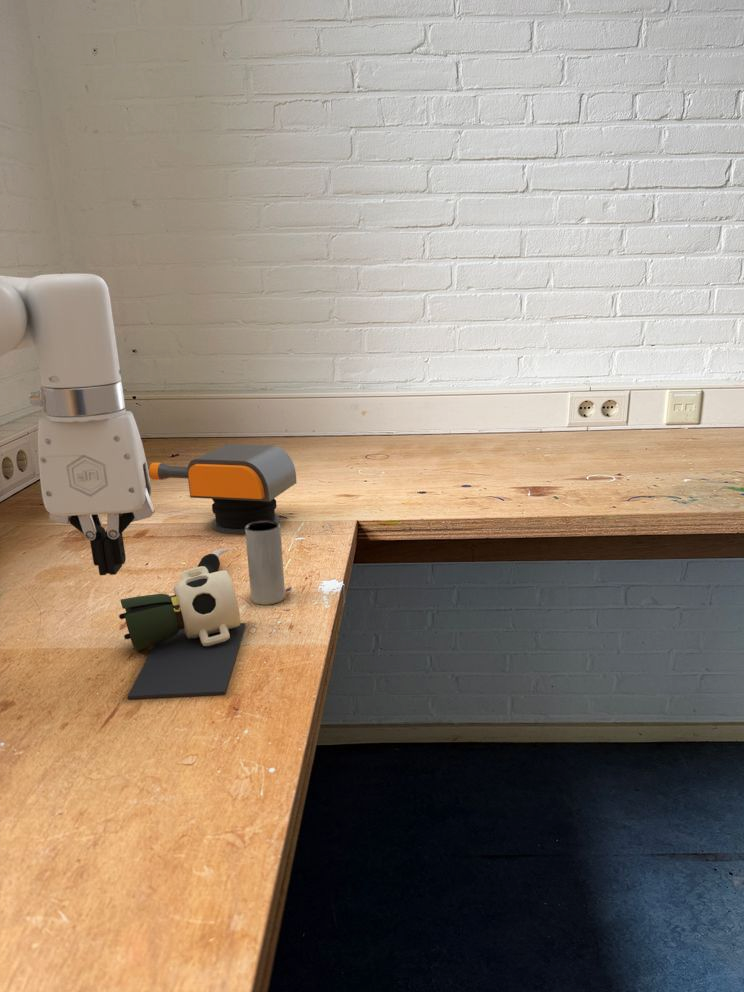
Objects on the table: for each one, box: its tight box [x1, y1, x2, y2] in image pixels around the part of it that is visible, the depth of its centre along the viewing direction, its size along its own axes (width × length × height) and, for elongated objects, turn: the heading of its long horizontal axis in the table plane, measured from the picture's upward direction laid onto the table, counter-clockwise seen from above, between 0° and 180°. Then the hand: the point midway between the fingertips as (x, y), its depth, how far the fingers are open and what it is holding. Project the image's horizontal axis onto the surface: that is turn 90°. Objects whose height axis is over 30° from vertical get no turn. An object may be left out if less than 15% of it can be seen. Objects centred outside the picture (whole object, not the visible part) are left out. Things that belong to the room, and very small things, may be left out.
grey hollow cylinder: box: [244, 521, 286, 606], centre depth 106 cm, size 4×4×10 cm
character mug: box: [118, 566, 242, 652], centre depth 94 cm, size 11×7×13 cm
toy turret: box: [147, 443, 297, 535], centre depth 139 cm, size 15×25×13 cm, turn 76°
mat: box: [126, 622, 247, 700], centre depth 91 cm, size 10×17×1 cm, turn 4°
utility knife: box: [193, 548, 234, 577], centre depth 112 cm, size 22×4×3 cm, turn 3°
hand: (111, 570), depth 87 cm, fingers closed
